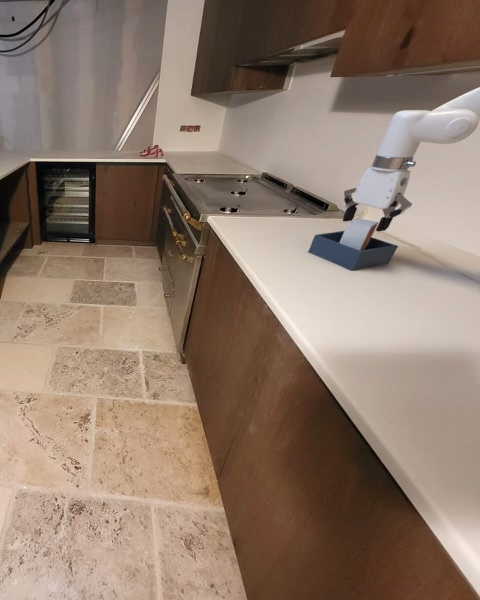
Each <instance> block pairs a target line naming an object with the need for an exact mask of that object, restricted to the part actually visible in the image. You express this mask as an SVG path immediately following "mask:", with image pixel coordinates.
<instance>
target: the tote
mask: <svg viewBox="0 0 480 600" xmlns="http://www.w3.org/2000/svg"><path fill="white" fill-rule="evenodd" d="M344 231H345V230H340V231H332V232H326V233H325V232H324V233H319V234H315V235H314V237H313V239H312V241H311V243H310V247H309V249H308V251H307V252H308V253H310V254H313V255H315V256H317V257H319V258H322V259H323V260H325V261H328V262H331V263H334V264H336V265H338V266H341V267H343V268H345V269H348V270H350V271H353V272H354V271H358V270H363V269H368V268H374V267H379V266H384V265H389V264H390V262H391V260H392V259H393V257H394V254H395V252H396V251H397V249H398V248H399V245H397V244H394V243H391V242H388V241H384V240H381V239H379V238H375V237H373V236H371V238H370V241H369V243H368V245H367V247H366V249H365V250H362V251H360V250H357V249H354V248H352V247H349V246H346V245H343V244H341V243H340V240H341V238H342V236H343V234H344Z"/></svg>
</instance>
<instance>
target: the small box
mask: <svg viewBox="0 0 480 600" xmlns="http://www.w3.org/2000/svg"><path fill="white" fill-rule="evenodd" d="M378 224H379V222H378V221H376V220H375V221H374V220H369V219H364V218H360V217H359V218H358V217H356V218H354V219H353V220H351V221H349V222H348V223H347V225H346V227H345V229H344V230H343V231H344V234H343V236H342V238H341V240H340V243H341V244H343V245H346V246H349V247H352V248H354V249H357V250H360V251H362V250H365V249H366V247H367V245H368V243H369V241H370V238H371V237H373V234H374V233H375V231H376V228H377V226H378Z"/></svg>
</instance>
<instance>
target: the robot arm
mask: <svg viewBox="0 0 480 600" xmlns="http://www.w3.org/2000/svg"><path fill="white" fill-rule="evenodd" d="M479 120H480V86H479V87H477V88H474V89H472V90H470V91H468V92H466V93H464V94H462V95H460V96H459V95H458V96H457V97H456V98H454V99H451V100H450V101H448V102H445V103H444V104H441V105H440V106H438V107H436V108H434V109H432V110H427V109H424V110H423V109H405V110H400V111H396V112H395V113H394V114H393V115H392V116H391V118H390V121H389V123H388V126H387V128H386V130H385V133H384V135H383V138H382V140H381V143H380V145H379V148H378V150H377V153H376V155H375V156H374V159H373V162H372V164H371V166H369V167H368V168H367V169H366V171H365V172H364V174H363V176H362V177H361V179H360V180H359V182H358V184H357V186H356V187H354V188H350V189H346V190H344V192H343V193H344V194H343V196H344V198H343V200H344V203H345V208H346V210H345V212H344V214H343V218H342V222H344V223H345V222H352V221H353V220H354V218H355V216H356V215H355V214H356V212H357V211H358V207H357V206H359V205H362V206H366V207H371V208H374V209H379V210H382V213H383V215H384V216H382V217H381V218H380V220H379V222H378V224H377V226H376V228H375V231H376V232H379V233H380V232H385V231H387V229H388V228H389V227H390V226H391V223H392V221H393V219H394V218H396V217H397V216H399V215H402V214H404V213H405V212H406V211H407V210H408V209H410V208H411V207H412V206H413V203H412V202H411V201H409V200H408V198H406V197H405V193H406V190H407V187H408V184H409V180H410V176H411V170H408V169H410V168H414V167H415V166H416V165H417V161H414V156H415V154H416V152H417V151H418V148H419V146H420V144H421V143H429V144H430V143H431V144H437V145H438V144H439V145H451V144H456V143H458V142H461V141H463V140H465V139H467V138H469V137H470V136H471V135H472V134H473V133H474V132H475V131H476V130H477V128H478V126H479ZM399 205H400V207H399ZM396 208H397V209H396Z"/></svg>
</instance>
